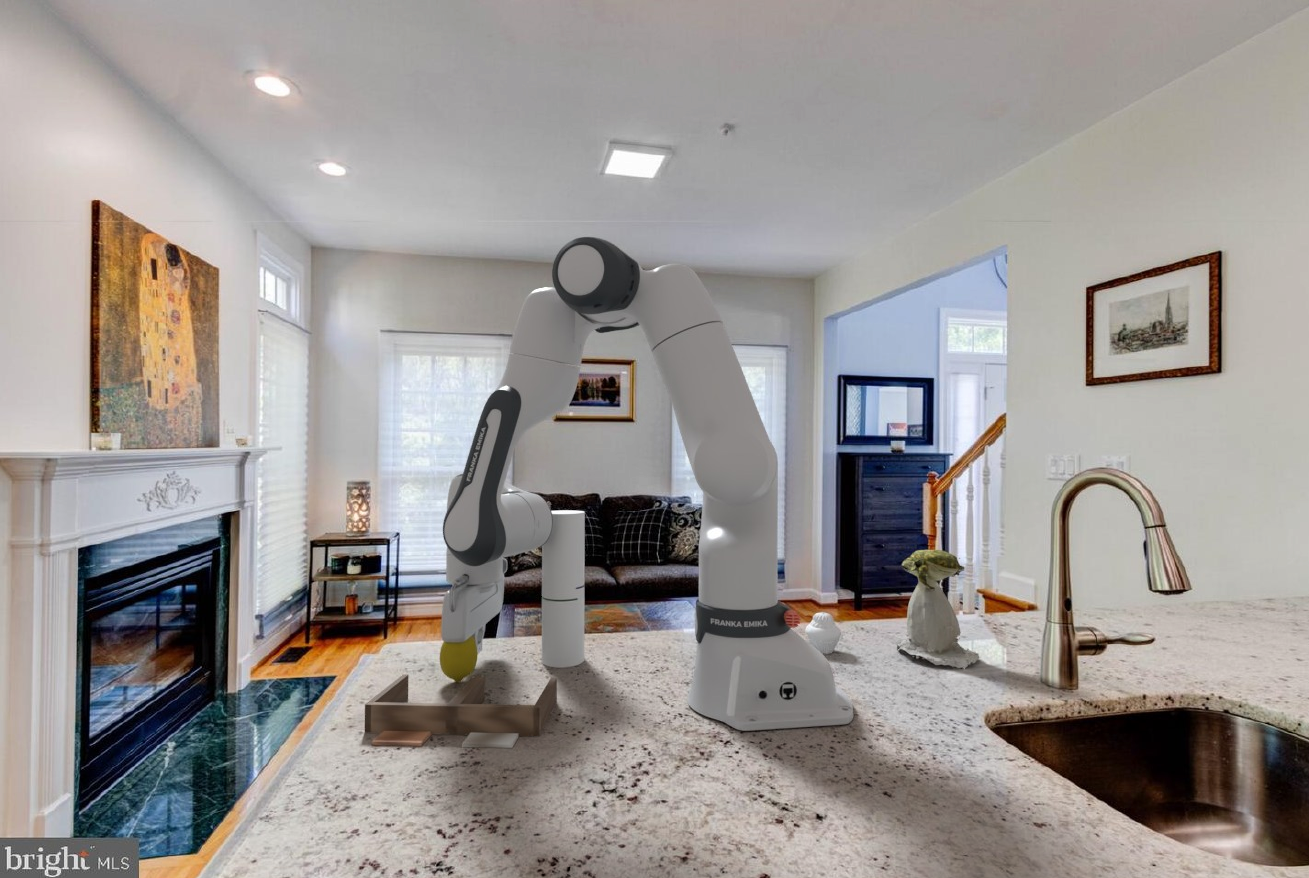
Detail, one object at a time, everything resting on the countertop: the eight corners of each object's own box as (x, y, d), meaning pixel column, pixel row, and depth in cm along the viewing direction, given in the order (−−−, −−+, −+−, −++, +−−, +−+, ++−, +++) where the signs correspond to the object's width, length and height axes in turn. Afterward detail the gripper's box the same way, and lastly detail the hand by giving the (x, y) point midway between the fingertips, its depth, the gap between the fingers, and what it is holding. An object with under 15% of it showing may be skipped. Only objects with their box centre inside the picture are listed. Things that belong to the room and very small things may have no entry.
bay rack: (556, 702, 89) (556, 677, 89) (533, 748, 75) (533, 718, 75) (402, 699, 90) (402, 674, 90) (351, 744, 76) (351, 714, 76)
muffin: (838, 658, 108) (837, 617, 108) (802, 654, 111) (801, 613, 111) (843, 648, 114) (843, 609, 114) (809, 644, 116) (809, 606, 117)
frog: (934, 673, 101) (933, 557, 102) (881, 649, 114) (880, 546, 114) (993, 665, 105) (992, 553, 106) (935, 643, 117) (935, 543, 118)
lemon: (466, 690, 94) (466, 635, 94) (432, 687, 95) (432, 633, 95) (483, 677, 99) (484, 625, 99) (451, 674, 100) (451, 623, 101)
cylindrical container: (592, 658, 109) (593, 511, 109) (565, 670, 103) (566, 514, 103) (560, 651, 112) (561, 509, 113) (532, 662, 106) (533, 512, 107)
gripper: (472, 582, 94) (471, 676, 94) (510, 559, 114) (510, 636, 114) (430, 582, 94) (429, 676, 94) (475, 559, 115) (475, 636, 114)
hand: (474, 654), depth 104 cm, fingers closed
